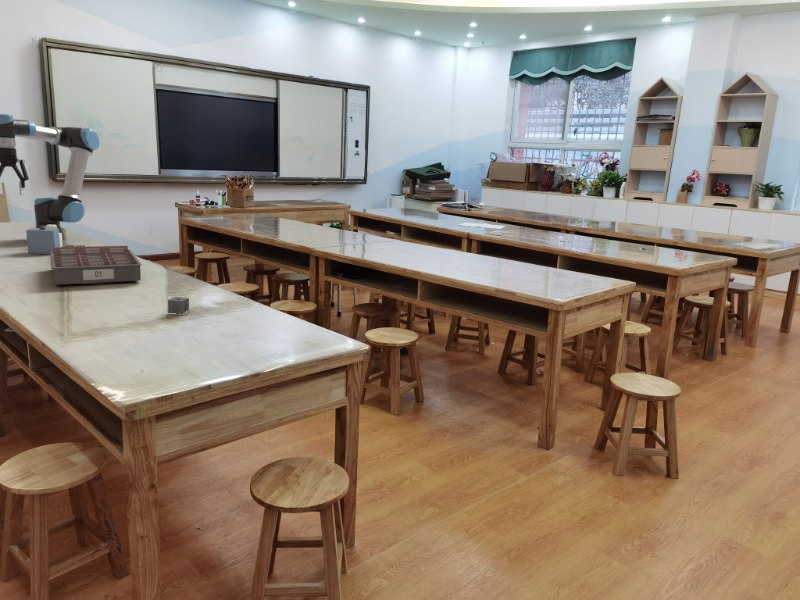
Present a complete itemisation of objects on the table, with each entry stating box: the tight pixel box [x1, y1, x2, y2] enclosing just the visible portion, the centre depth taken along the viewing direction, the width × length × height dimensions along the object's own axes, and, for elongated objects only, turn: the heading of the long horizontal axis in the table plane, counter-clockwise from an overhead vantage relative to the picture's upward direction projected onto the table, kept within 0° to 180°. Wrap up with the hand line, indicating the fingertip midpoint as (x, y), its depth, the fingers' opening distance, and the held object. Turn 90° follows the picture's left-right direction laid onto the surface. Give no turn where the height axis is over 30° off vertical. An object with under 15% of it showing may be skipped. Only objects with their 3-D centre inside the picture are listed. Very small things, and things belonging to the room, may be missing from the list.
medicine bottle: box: [45, 224, 64, 247], centre depth 313 cm, size 7×7×12 cm
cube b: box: [75, 244, 86, 247], centre depth 302 cm, size 4×4×4 cm
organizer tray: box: [49, 245, 143, 286], centre depth 253 cm, size 32×40×10 cm
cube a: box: [63, 244, 76, 247], centre depth 301 cm, size 4×4×4 cm
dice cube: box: [167, 296, 190, 314], centre depth 205 cm, size 5×5×5 cm
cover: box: [25, 226, 60, 254], centre depth 297 cm, size 8×12×13 cm, turn 102°
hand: (11, 194), depth 298 cm, fingers open, 9 cm apart
